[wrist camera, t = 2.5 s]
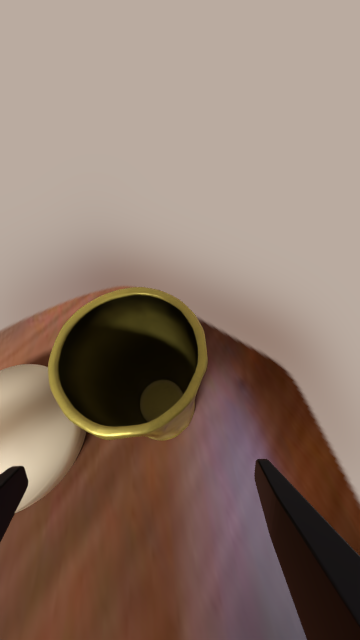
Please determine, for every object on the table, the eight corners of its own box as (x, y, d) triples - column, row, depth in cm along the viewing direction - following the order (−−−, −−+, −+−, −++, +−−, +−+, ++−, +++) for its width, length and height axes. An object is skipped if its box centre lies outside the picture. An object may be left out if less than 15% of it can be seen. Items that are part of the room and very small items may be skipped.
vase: (175, 454, 16) (159, 521, 4) (118, 417, 18) (-16, 384, 6) (204, 390, 19) (247, 314, 7) (153, 362, 21) (113, 259, 8)
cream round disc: (104, 459, 17) (90, 464, 14) (-43, 552, 14) (-94, 579, 11) (73, 354, 21) (59, 344, 19) (-39, 407, 19) (-75, 403, 16)
